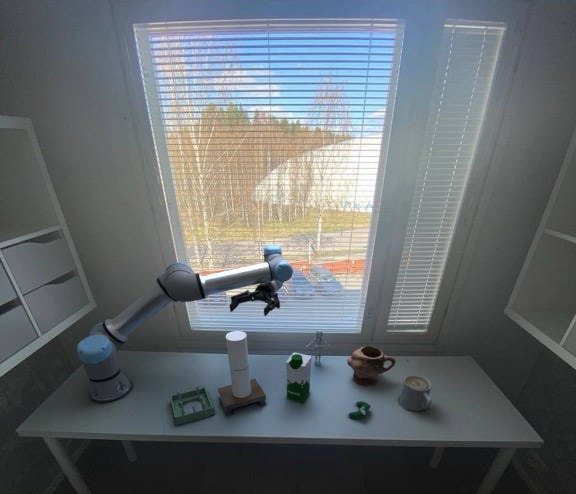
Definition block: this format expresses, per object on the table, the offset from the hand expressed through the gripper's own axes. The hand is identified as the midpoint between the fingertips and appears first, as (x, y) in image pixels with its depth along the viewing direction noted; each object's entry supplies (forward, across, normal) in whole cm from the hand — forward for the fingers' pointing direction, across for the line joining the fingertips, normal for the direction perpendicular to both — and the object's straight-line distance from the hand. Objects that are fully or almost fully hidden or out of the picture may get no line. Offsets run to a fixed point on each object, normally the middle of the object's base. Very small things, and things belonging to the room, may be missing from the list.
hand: (247, 310), depth 120 cm
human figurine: (-22, -24, -34) cm, 47 cm away
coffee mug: (-4, -66, -34) cm, 75 cm away
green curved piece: (+6, -46, -34) cm, 58 cm away
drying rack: (+22, +17, -34) cm, 44 cm away
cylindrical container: (+12, 0, -29) cm, 32 cm away
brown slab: (+12, 0, -34) cm, 36 cm away
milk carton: (+3, -21, -34) cm, 40 cm away
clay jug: (-17, -47, -34) cm, 61 cm away
